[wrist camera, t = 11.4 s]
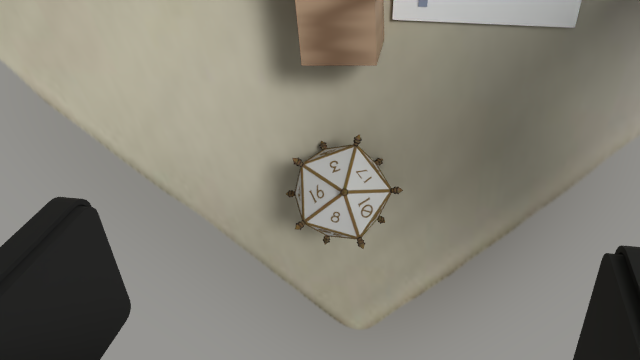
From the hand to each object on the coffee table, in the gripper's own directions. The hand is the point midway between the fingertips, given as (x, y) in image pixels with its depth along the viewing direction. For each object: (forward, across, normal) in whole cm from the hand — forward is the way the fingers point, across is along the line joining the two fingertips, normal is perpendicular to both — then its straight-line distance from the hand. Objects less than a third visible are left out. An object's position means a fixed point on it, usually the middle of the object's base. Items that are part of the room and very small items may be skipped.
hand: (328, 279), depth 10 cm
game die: (+28, +4, +12) cm, 31 cm away
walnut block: (+28, +6, -2) cm, 29 cm away
